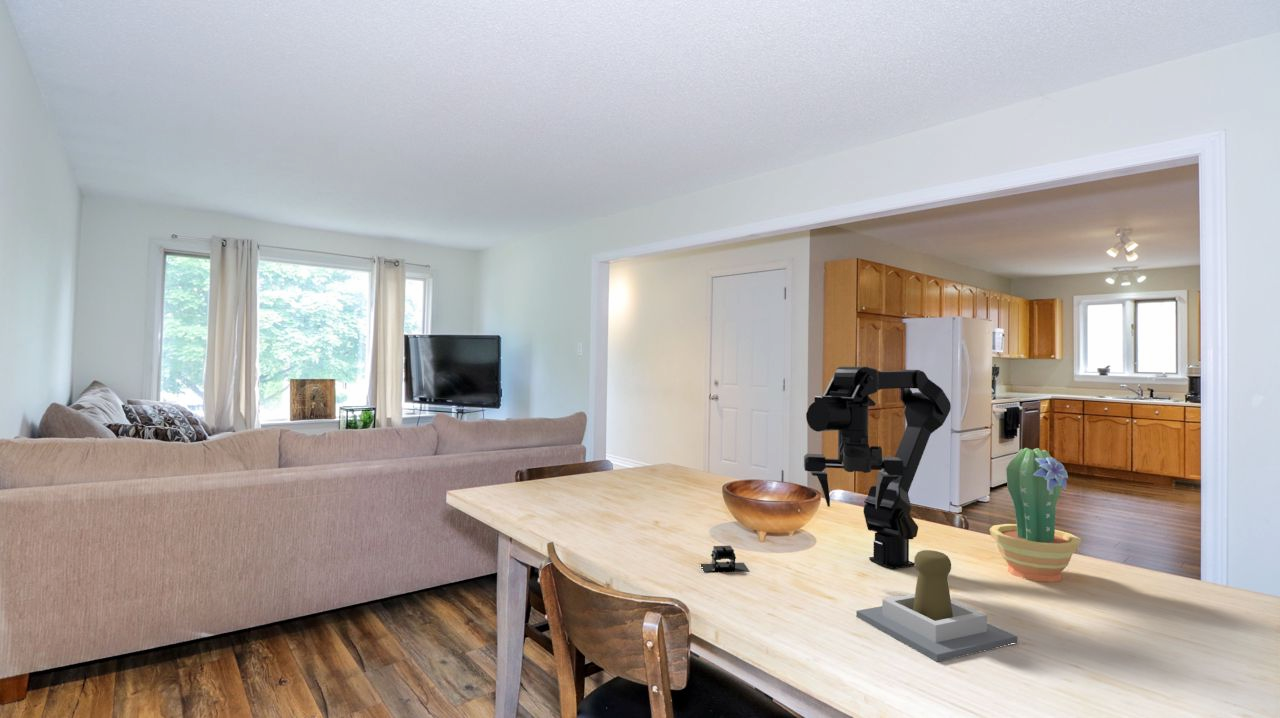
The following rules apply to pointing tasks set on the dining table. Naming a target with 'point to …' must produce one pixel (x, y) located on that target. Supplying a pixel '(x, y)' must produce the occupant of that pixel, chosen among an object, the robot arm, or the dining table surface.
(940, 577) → the cork
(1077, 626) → the dining table surface
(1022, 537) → the potted cactus
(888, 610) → the socket plate
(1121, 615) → the dining table surface
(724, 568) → the black bracket mount
